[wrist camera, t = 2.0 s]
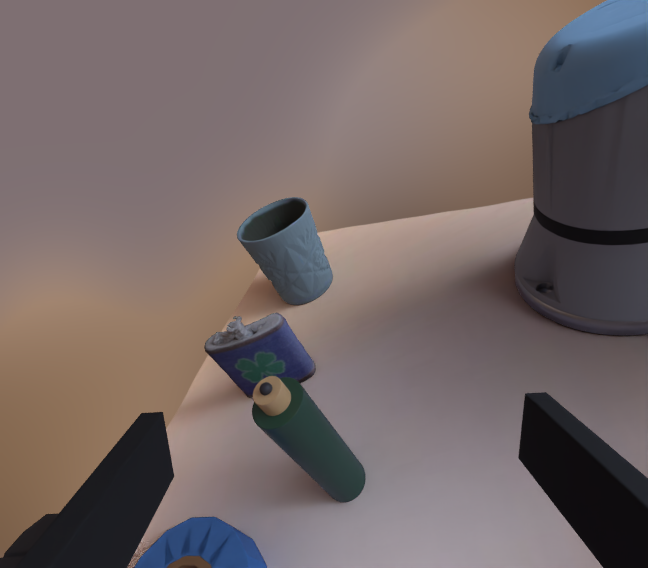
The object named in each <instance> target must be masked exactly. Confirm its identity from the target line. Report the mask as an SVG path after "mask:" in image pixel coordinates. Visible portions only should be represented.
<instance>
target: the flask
mask: <svg viewBox="0 0 648 568" xmlns="http://www.w3.org/2000/svg"><path fill="white" fill-rule="evenodd" d="M233 319H236V321H234V322H230V323H229V324H228V325H227V326H229V327H227V331H225V332H216V334H214V335H213V336H211V337H210V338H209V339H208V340H207V341H206V343H205V351H206V352H207V353H208V354H209V355H210V356H211V357H212V358H213V360H214V361H215V362H216V363H217V364H218V365H219V366H220V367H221V368H222V369H223V370H224V371H225V372H226V373H227V374H228V375H229V377H230V378H231V379H232V380H233V382H235V383H236V385H237V386H238V387H239V388H240V389H241V390H242V391H243V392H244V393H245V394H246V395H247V397H250V398H252V397H253V391H254V389H255V387H256V385H257V384H258V383H259V382H260V381H261V380H262V379H264V378H266V377H269V376H276V377H278V378H282V377H290V378H293V379H295V380H297V381H298V382H299V383H301V382H304V381H305V380H307V379H308V378H309V377H311V376H312V375H314V372H315V368H314V367H315V363H314V361H313V360H312V359H311V357H310V356H309V355H308V353H307V352H306V351H305V349H304V347H303V345H302V344H301V343H300V342H299V340H298V339H297V337H296V336H295V334H294V333H293V331H292V330H291V328H290V327H289V325H288V323H287V321H286V319H285V318H284V317H283V316H282V315H281V314H279V313H273V314H270V315H268V316H267V317H265V318H262V319H260V320H259V321H256V322H253V323H252V324H249V325H246V326H244V325H243V323H240V322H241V320H242V318H241V317H240V316H239V317H236V316H235V317H234V318H233Z"/></svg>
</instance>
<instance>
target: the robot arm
mask: <svg viewBox="0 0 648 568" xmlns="http://www.w3.org/2000/svg"><path fill="white" fill-rule="evenodd" d="M529 118H530V119H531V122H532V140H533V193H534V215H533V217H532V220H531V222H530V225H529V227H528V229H527V232H526V234H525V236H524V239H523V241H522V243H521V246H520V248H519V250H518V253H517V255H516V258H515V265H514V266H515V281H516V286H517V288H518V291H519V293H520V294H521V296H522V297H523V299H524V300H525V301H526V302H527V303H528V304H529V305H530V306H531V307H532V308H533V309H534V310H536V311H537V312H538V313H540V314H541V315H543V316H545V317H547V318H548V319H550V320H552V321H555V322H557V323H559V324H562V325H564V326H567V327H570V328H574V329H577V330H581V331H586V332H591V333H597V334H605V335H642V334H648V0H607V1H606V2H603V3H601V4H600V5H598V6H596V7H594V8H593V9H591V10H589V11H587V12H586V13H584V14H583V15H581V16H579V17H578V18H576V19H575V20H573V21H572V22H570V23H569V24H568V25H566V26H565V27H564V28H562V29H561V30H560V31H559V32H558V33H556V34H555V35H554V36H553V37H552V38H551V39H550V40H549V41H548V43H547V44H546V45H545V46H544V48H543V49H542V51H541V53H540V54H539V56H538V58H537V61H536V64H535V68H534V79H533V98H532V106H531V108H530V112H529ZM519 459H520V461H521V462H522V463H523V465H524V466H525V467H526V468H527V470H528V471H529V472H530V474H531V475H532V476H533V477H534V479H535V480H536V481H537V483H538V484H539V485H540V486H541V488H542V489H543V490H544V492H545V493H546V494H547V495H548V497H549V498H550V499H551V501H552V502H553V503H554V505H555V506H556V507H557V508H558V510H559V511H560V512H561V514H562V515H563V516H564V517H565V519H566V520H567V521H568V523H569V524H570V525H571V526H572V528H573V529H574V530H575V532H576V533H577V534H578V536H579V537H580V538H581V539H582V541H583V542H584V543H585V545H586V546H587V547H588V548H589V550H590V551H591V552H592V554H593V555H594V556H595V557H596V559H597V560H598V561H599V563H600V564H601V565H602V566H603V568H648V478H647V477H645V476H644V475H643V474H642V473H641V472H640V471H638V470H637V469H636V468H635V467H634V466H632V465H631V464H630V463H629V462H628V461H627V460H625V459H624V458H623V457H622V456H621V455H619V454H618V453H617V452H616V451H615V450H614V449H612V448H611V447H610V446H609V445H608V444H606V443H605V442H604V441H603V440H602V439H601V438H599V437H598V436H597V435H596V434H595V433H594V432H592V431H591V430H590V429H589V428H588V427H586V426H585V425H584V424H583V423H582V422H581V421H579V420H578V419H577V418H576V417H575V416H573V415H572V414H571V413H570V412H569V411H568V410H566V409H565V408H564V407H563V406H562V405H560V404H559V403H558V402H557V401H556V400H555V399H553V398H552V397H551V396H550V395H549V394H547V393H546V392H545V393H525V400H524V410H523V420H522V430H521V439H520V449H519ZM173 478H174V472H173V467H172V461H171V455H170V450H169V444H168V438H167V433H166V427H165V421H164V416H163V412H155V413H141V414H140V416H139V417H138V418H137V419H136V421H135V422H134V423H133V424H132V425H131V427H130V428H129V429H128V430H127V431H126V433H125V434H124V435H123V436H122V438H121V439H120V440H119V441H118V442H117V444H116V445H115V446H114V447H113V449H112V450H111V451H110V452H109V453H108V455H107V456H106V457H105V458H104V459H103V461H102V462H101V463H100V464H99V466H98V467H97V468H96V469H95V471H94V472H93V473H92V474H91V475H90V477H89V478H88V479H87V480H86V481H85V483H84V484H83V485H82V486H81V488H80V489H79V490H78V491H77V492H76V494H75V495H74V496H73V497H72V498H71V500H70V501H69V502H68V503H67V504H66V506H65V507H64V508H63V509H62V511H61V512H60V513H59V514H46V515H45V516H43V517H42V518H41V519H40V520H38V521H37V522H36V523H34V524H33V525H32V526H31V527H29V528H28V529H27V530H25V531H24V532H23V533H22V534H21V535H20V536H19V538H18V539H17V540H16V541H15V542H14V543H13V544H12V546H11V547H10V548H9V549H8V550H7V551H6V552H5V554H4V557H3V558H0V568H127V567H128V565H129V563H130V561H131V559H132V557H133V555H134V553H135V551H136V549H137V547H138V545H139V543H140V541H141V539H142V538H143V536H144V534H145V532H146V530H147V528H148V526H149V524H150V522H151V520H152V518H153V516H154V514H155V512H156V510H157V509H158V507H159V505H160V503H161V501H162V499H163V497H164V495H165V493H166V491H167V489H168V487H169V485H170V483H171V481H172V480H173Z"/></svg>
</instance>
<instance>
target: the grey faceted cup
mask: <svg viewBox="0 0 648 568" xmlns="http://www.w3.org/2000/svg"><path fill="white" fill-rule="evenodd" d="M237 238H238V240H239V241H240V242H241V244H242V245H243V246H244V248H245V249H246V250H247V251H248V252H249V254H250V255H251V257H252V258H253V259H254V260H255V262H256V263H257V264H259V266H260V269H261V270H262V271H263V273H264V274H265V276H266V277H267V278H268V280H271V281H272V284H273V286H274V288H275V289H276V291H277V292H278V293H279V295H280V296H281V298H282V299H283V300H284V301H285V302H287V303H289V304H292V305H300V304H305V303H308V302H311V301H313V300H315V299H316V298H318V297H320V296H321V295H322V294H323V293H324V292H325V291H326V290H327V289H328V288H329V286H330V284H331V282H332V278H333V275H332V270H331V268H330V265H329V262H328V260H327V257H326V256H325V254H324V249H323V246H322V243H321V241H320V237H319V236H318V235H317V230H316V226H315V223H314V220H313V218H312V215H311V212H310V209H309V206H308V203H307V202H306V201H305V200H304V199H302V198H297V197H292V198H286V199H282V200H279V201H276V202H273V203H271V204H269V205H267V206H265V207H263V208H261V209H259V210H258V211H256V212H255V213H253V214H252V215H251V216H249V217H248V218H247V219H246V220H245V221H244V222H243V223H242V225H241V226H240V227H239V230H238V232H237Z"/></svg>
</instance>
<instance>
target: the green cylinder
mask: <svg viewBox="0 0 648 568" xmlns="http://www.w3.org/2000/svg"><path fill="white" fill-rule="evenodd" d="M253 400H254V404H253V408H252V415H253V419H254V421H255V423H256V424H257V425H258V426H259V427H260V428H261V429H262V430H263V431H264V432H265V433H266V434H267V435H268V436H269V437H270V438H271V439H272V440H273V441H274V442H275V443H276V444H277V445H278V446H279V447H280V448H281V449H283V450H284V451H285V452H286V453H287V454H288V455H289V456H290V457H291V458H292V459H293V460H294V461H295V462H296V463H297V464H298V465H299V466H300V467H301V468H302V469H303V470H304V471H305V472H306V473H307V474H308V475H309V476H310V477H311V478H312V479H314V480H315V481H316V482H317V483H318V484H319V485H320V486H321V487H322V488H323V489H324V490H325V491H326V492H327V493H328V494H329V495H330V496H331V497H332V498H333V499H335V500H336V501H339V502H349V501H351V500H353V499H355V498H356V497H357V496H358V495H359V494H360V493H361V491H362V490H363V487H364V484H365V471H364V468H363V466H362V464H361V463H360V462H359V460H358V459H357V458H356V456H355V455H354V454H353V452H352V451H351V450H350V449H349V447H348V446H347V445H346V443H345V442H344V441H343V439H342V438H341V437H340V435H339V434H338V433H337V431H336V430H335V429H334V428H333V426H332V425H331V424H330V422H329V421H328V420H327V418H326V417H325V416H324V414H323V413H322V412H321V410H320V409H319V408H318V407H317V405H316V404H315V403H314V401H313V400H312V399H311V397H310V396H309V395H308V393H307V392H306V391H305V389H304V388H303V387H302V386H301V384H300V383H299V382H298V381H297V380H295V379H293V378H290V377H282V378H278V377H276V376H269V377H266V378H264V379H262V380H261V381H260V382H259V383H258V384H257V385H256V387H255V389H254V391H253Z"/></svg>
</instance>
